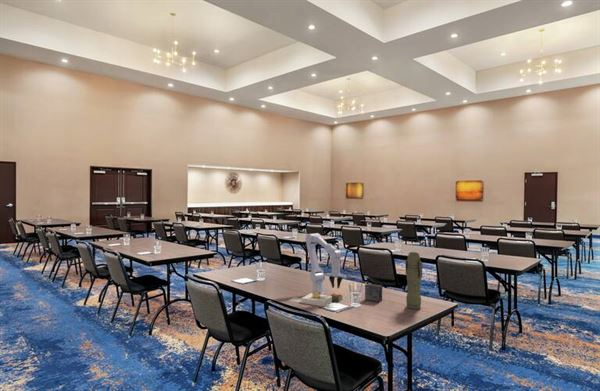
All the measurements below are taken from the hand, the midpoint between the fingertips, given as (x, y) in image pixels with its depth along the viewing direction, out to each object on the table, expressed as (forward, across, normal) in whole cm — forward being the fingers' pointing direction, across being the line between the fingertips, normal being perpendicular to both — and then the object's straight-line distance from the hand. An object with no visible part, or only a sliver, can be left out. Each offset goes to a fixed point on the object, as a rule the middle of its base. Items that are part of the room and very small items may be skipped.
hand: (335, 287), depth 247 cm
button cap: (+6, 0, 0) cm, 6 cm away
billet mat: (+8, -23, -13) cm, 28 cm away
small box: (+9, +23, +12) cm, 27 cm away
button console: (+8, 0, 0) cm, 8 cm away
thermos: (+9, +50, +9) cm, 52 cm away
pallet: (+8, -9, -11) cm, 17 cm away
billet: (+7, -9, -11) cm, 16 cm away
